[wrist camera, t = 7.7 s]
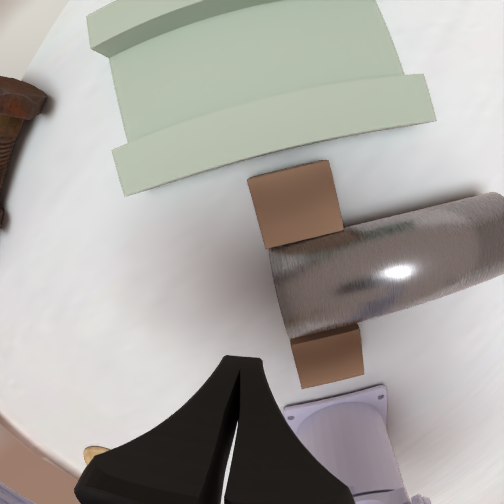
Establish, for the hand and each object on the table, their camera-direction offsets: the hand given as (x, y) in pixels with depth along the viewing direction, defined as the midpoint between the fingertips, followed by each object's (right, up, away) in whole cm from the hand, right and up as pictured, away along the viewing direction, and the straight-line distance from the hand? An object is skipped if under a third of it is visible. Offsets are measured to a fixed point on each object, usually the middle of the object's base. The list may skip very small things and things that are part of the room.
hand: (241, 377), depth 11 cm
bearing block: (+4, +3, +7) cm, 9 cm away
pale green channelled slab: (0, +15, +4) cm, 16 cm away
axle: (+9, +4, +5) cm, 11 cm away
